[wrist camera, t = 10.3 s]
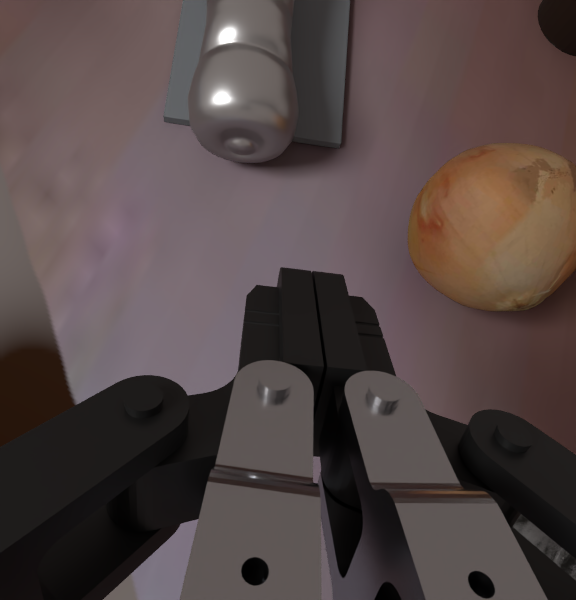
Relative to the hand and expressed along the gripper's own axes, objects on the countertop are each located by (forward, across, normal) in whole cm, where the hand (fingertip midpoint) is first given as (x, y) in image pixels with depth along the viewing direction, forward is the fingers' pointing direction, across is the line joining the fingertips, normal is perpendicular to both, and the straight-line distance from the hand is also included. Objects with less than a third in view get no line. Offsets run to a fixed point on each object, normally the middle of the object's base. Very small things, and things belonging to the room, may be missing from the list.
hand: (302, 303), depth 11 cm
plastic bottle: (+18, +3, +1) cm, 19 cm away
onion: (+19, -13, +7) cm, 24 cm away
